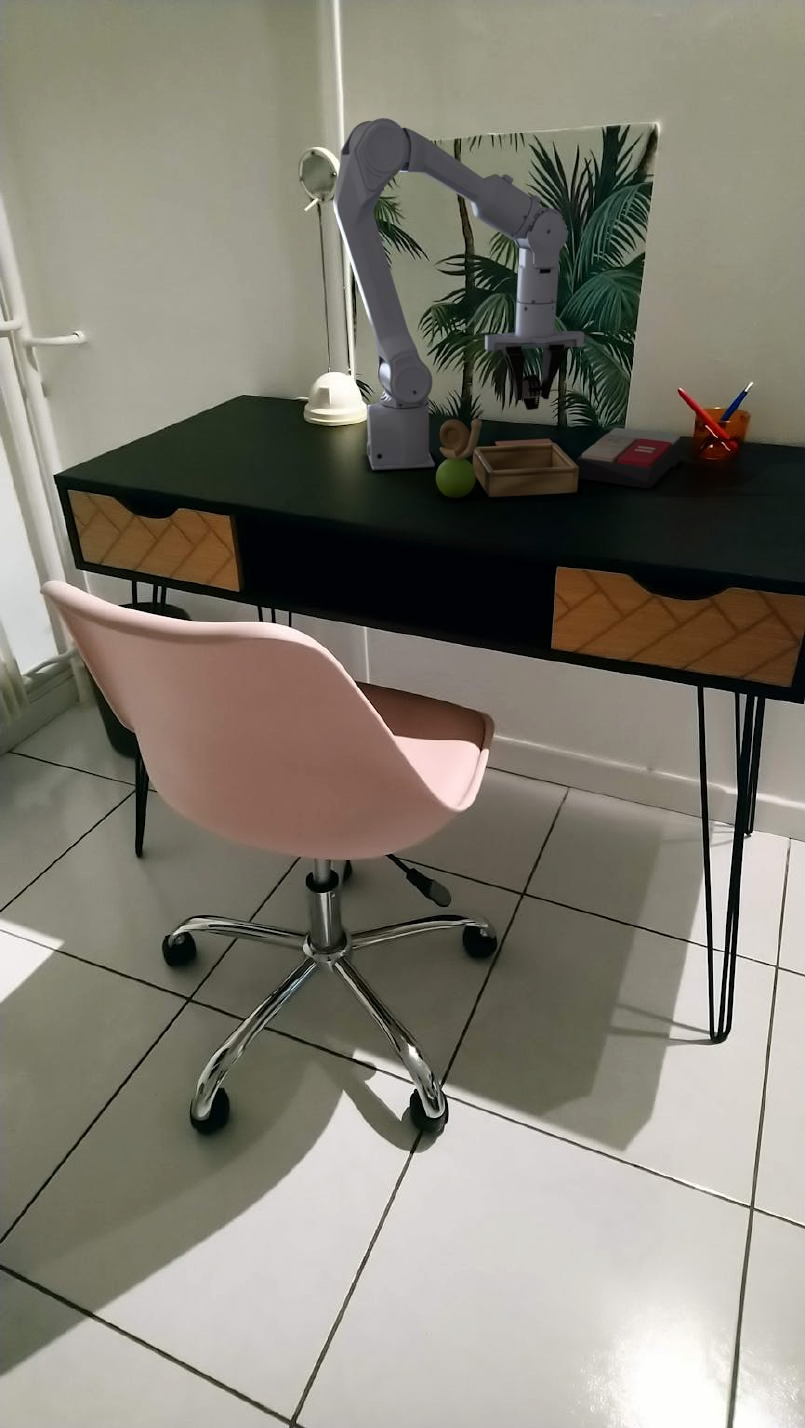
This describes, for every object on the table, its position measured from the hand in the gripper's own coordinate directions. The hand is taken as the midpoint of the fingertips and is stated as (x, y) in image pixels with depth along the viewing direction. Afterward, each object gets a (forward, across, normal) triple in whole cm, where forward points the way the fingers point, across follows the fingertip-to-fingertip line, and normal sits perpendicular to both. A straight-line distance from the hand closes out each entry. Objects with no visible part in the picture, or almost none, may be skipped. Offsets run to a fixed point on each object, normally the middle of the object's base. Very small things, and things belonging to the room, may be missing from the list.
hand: (531, 398), depth 137 cm
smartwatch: (+2, 0, 0) cm, 2 cm away
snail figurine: (+8, -15, -21) cm, 27 cm away
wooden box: (+8, -4, -15) cm, 17 cm away
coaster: (+8, 0, +1) cm, 8 cm away
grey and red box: (+8, +12, -12) cm, 19 cm away
